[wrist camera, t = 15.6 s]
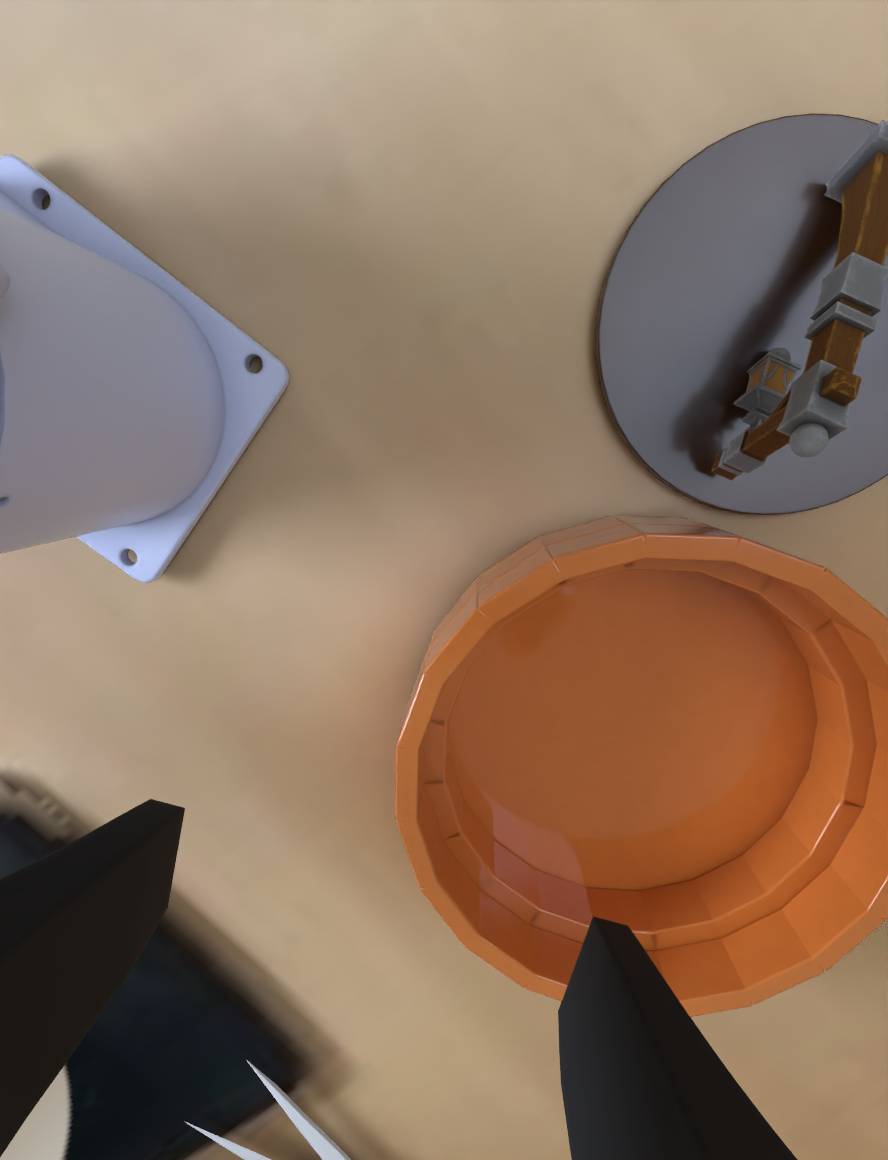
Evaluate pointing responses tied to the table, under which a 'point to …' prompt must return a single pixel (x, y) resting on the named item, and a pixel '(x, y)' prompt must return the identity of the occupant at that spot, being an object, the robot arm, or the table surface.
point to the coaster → (737, 316)
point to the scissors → (315, 1136)
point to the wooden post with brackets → (823, 328)
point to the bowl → (653, 760)
